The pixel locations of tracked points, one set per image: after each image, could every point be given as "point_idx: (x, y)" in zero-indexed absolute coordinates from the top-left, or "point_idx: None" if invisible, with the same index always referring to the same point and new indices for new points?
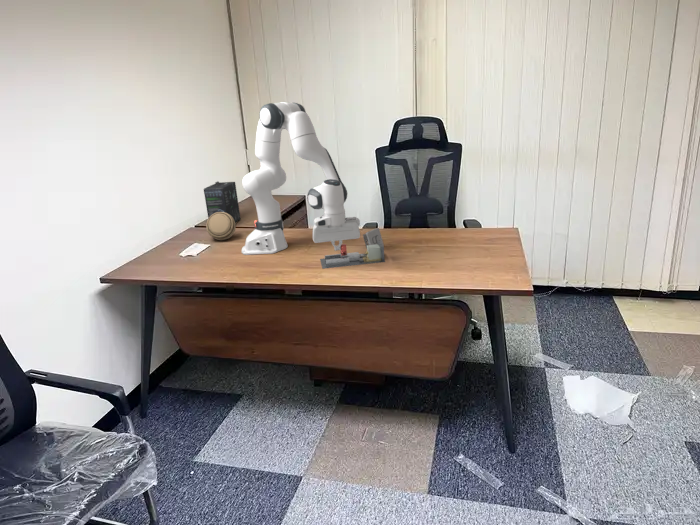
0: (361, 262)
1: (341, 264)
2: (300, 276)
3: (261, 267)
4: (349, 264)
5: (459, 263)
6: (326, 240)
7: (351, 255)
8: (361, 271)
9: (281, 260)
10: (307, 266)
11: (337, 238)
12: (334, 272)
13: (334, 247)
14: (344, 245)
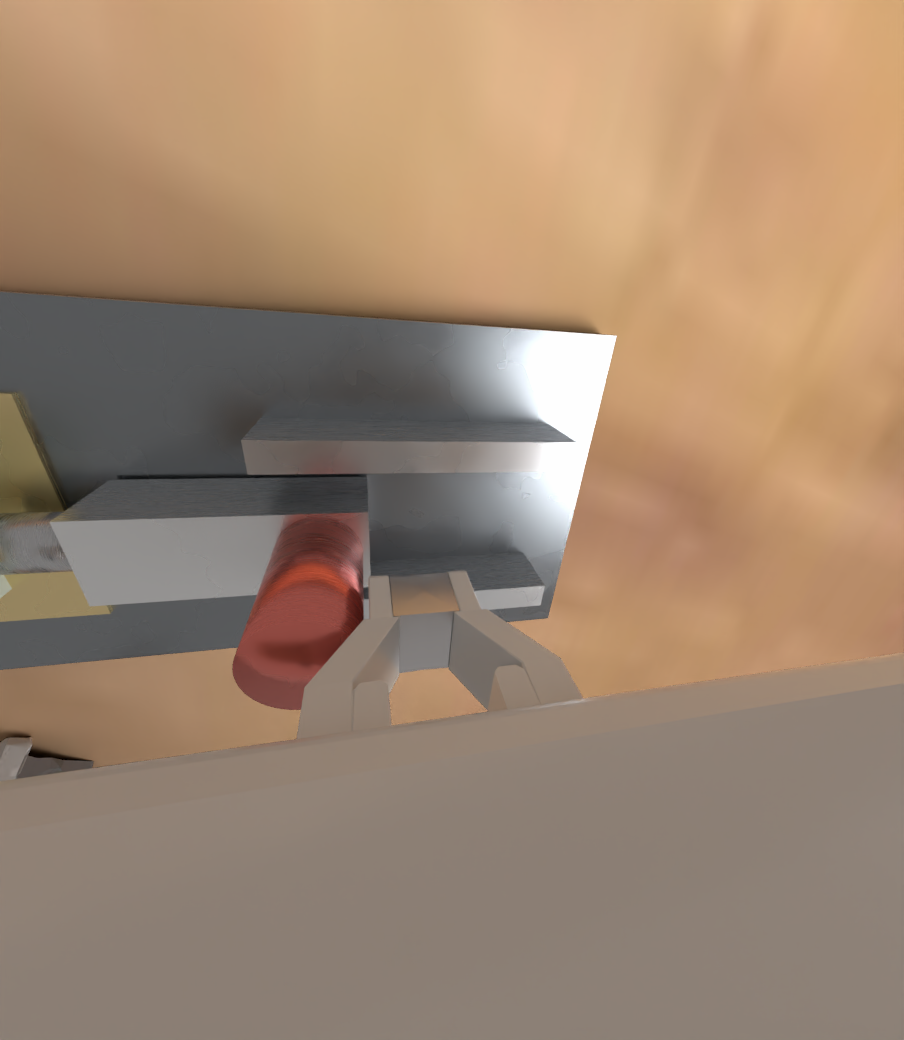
0: (67, 389)
1: (373, 406)
2: (847, 245)
3: (899, 573)
4: (262, 365)
5: None
6: (750, 701)
7: (202, 511)
8: (27, 6)
9: (749, 659)
10: (668, 513)
11: (458, 779)
12: (490, 205)
13: (476, 612)
14: (273, 633)
